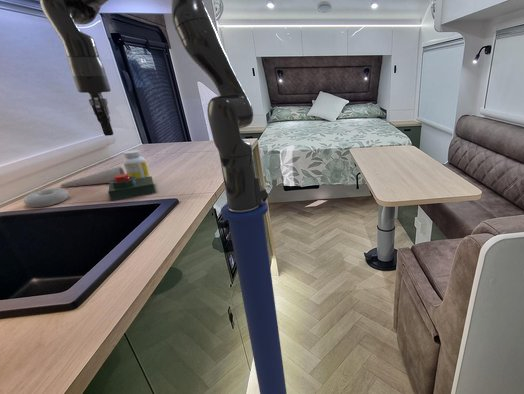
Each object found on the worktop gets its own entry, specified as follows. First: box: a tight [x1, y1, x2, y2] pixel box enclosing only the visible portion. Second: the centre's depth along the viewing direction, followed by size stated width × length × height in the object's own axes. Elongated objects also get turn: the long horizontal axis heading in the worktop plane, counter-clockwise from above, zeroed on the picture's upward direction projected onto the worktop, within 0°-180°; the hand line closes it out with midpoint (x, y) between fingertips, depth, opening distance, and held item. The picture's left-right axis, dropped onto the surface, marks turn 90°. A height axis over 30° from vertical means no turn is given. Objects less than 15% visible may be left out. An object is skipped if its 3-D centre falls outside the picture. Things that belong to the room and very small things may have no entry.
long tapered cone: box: [60, 165, 126, 188], centre depth 104 cm, size 6×6×19 cm
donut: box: [23, 187, 69, 208], centre depth 90 cm, size 10×4×10 cm
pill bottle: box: [122, 149, 150, 179], centre depth 106 cm, size 6×6×12 cm
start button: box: [114, 173, 130, 182], centre depth 96 cm, size 4×4×2 cm
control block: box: [107, 175, 156, 202], centre depth 98 cm, size 12×10×5 cm
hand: (109, 135), depth 90 cm, fingers closed
